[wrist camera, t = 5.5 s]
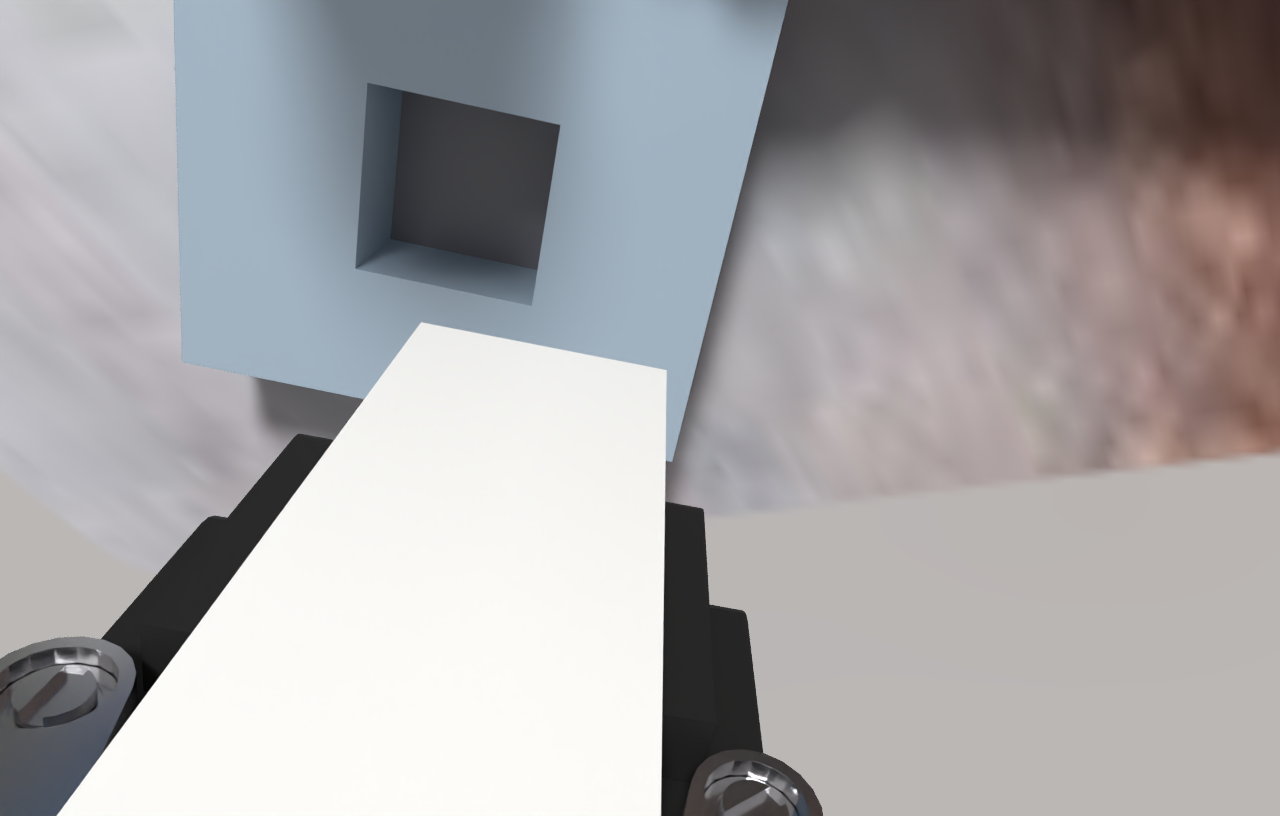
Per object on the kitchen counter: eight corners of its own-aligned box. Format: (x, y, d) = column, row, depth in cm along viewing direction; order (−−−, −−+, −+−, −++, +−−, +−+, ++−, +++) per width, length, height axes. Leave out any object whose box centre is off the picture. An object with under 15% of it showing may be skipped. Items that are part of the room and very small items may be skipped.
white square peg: (666, 370, 14) (654, 1273, 4) (621, 568, 16) (536, 1550, 6) (421, 322, 14) (-199, 1159, 4) (401, 528, 16) (-68, 1479, 6)
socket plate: (774, -3, 27) (788, -1, 23) (674, 403, 33) (671, 462, 29) (250, -122, 26) (170, -141, 22) (245, 314, 32) (182, 361, 28)
